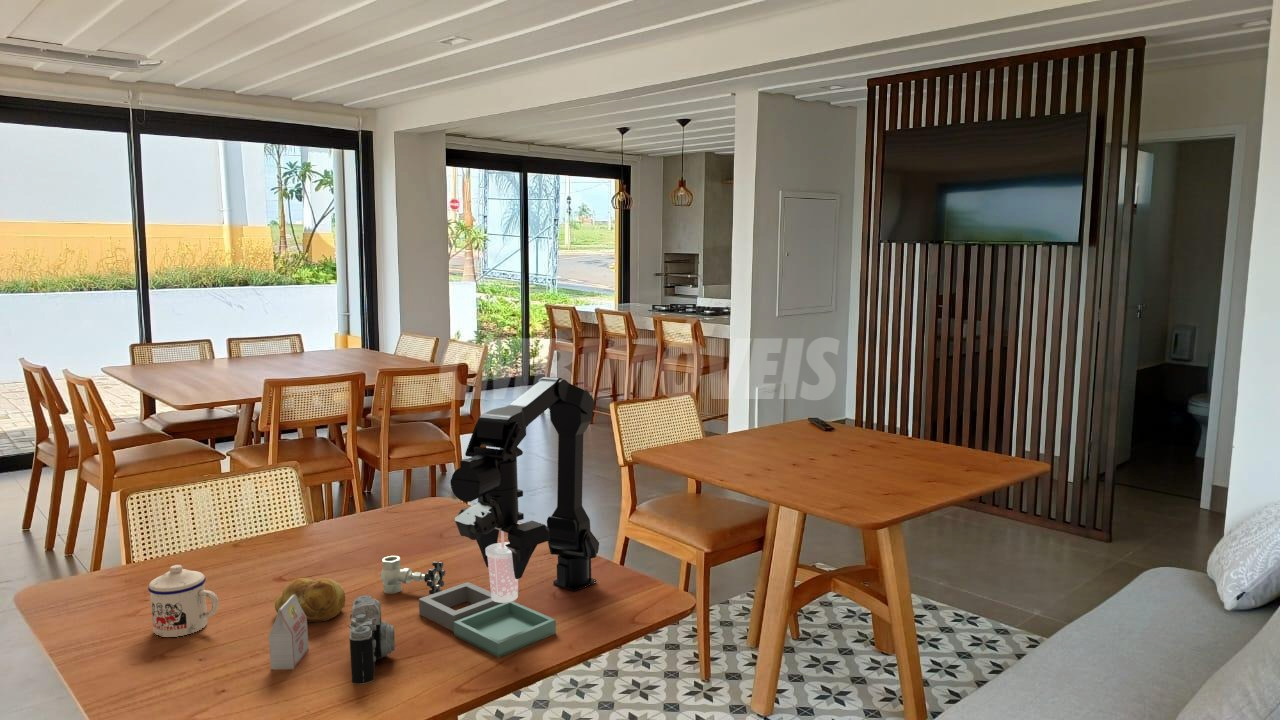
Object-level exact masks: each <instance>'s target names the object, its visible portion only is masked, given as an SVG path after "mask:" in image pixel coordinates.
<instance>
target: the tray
mask: <svg viewBox="0 0 1280 720" xmlns="http://www.w3.org/2000/svg"><path fill="white" fill-rule="evenodd" d="M556 624H557V622H556V618H553V617H550V616H548V615H546V614H543V613H541V612H539V611H537V610H534V609H532V608H530V607H527V606H525V605H522V604H520V603H518V602H516V601H511V602H506V603H502V604H499V605H497V606H494V607H492V608H489V609H486V610H484V611H481V612H478V613H476V614H473V615H470V616H468V617H465V618H462V619H460V620H457V621H455V622H454V631H453V635H454V636H455V637H456V638H458V639H460V640H463V641H464V642H467V643H468V644H470V645H472V646H474V647H477V648H479V649H480V650H482V651H484V652H486V653H487V654H490V655H492V656H493V657H497V658H498V659H499V658H502V657H505V656H506V655H510V654H511V653H513V652H516V651H519V650H521V649H523V648H524V647H527V646H530V645H533V644H534V643H537V642H540V641H542V640H544V639H545V638H548V637H550V636H553V635H555V634H557V625H556Z"/></svg>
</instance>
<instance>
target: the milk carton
mask: <svg viewBox="0 0 1280 720" xmlns="http://www.w3.org/2000/svg"><path fill="white" fill-rule="evenodd" d="M276 613H277V612H276ZM308 635H309V634H308V622H307V617H306V615H305V613H304V611H303V610H302V608H301V606H300V604H299V602H298V600H297V597H296V594H295V595H294V596H293V595H292V596H291V597H290V598H289V599H288V600H287V602H286V603H285V604H284V605H283V606H282V607H281V608H280V609H279V610H278V613H277V615H276V617H275V619H274V622H273V625H272V627H271V629H270V631H269V633H268V642H269V643H268V644H269V645H268V646H269V656H270V657H269V660H270V661H269V662H270V670H271V669H273V670H295V668H296V667H297V666H298V665H299V664H300V662H301V660H302V659H303V658H304V657H305V655H307V653H308V652H309V636H308ZM297 664H298V665H297Z"/></svg>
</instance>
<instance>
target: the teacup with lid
mask: <svg viewBox="0 0 1280 720" xmlns="http://www.w3.org/2000/svg"><path fill="white" fill-rule="evenodd" d="M205 582H206V577H205V574H204V573H202V572H200V571H198V570H197V571H196V570H189V569H185V568H183V565H182V564H174V565H171V566H170V568H169V571H167V572H165V573H164V574H162V575H159V576H157V577H156V578H154V579H152V580H151V581H150V582H149V585H148V591H149V595H150V606H151V617H152V620H151V621H152V630H153V634H154V633H155V634H157V635H160V636H165V637H168V636H169V637H176V636H182V635H187V634H191V633H193V634H195V633H194V632H196V633H198V632H199V630H200V631H201V630H203V629H204V628H205V627H206V626H207V624H208V618H210V617H212V616H213V615H215V613H216V612H217V611H218V608H219V598H218V595H217V594H216V593H215V592H213V590H209V589H208V590H207V589H205V588H206V587H205V586H206V585H205ZM206 597H208V598H209V599H210V600H211V609H210V611H208V612H207V610H208V609H207V601H206V599H207V598H206ZM202 628H203V629H202ZM197 631H198V632H197ZM155 634H154V635H155ZM191 635H192V634H191ZM187 636H188V635H187Z"/></svg>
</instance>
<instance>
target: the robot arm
mask: <svg viewBox="0 0 1280 720" xmlns="http://www.w3.org/2000/svg"><path fill="white" fill-rule="evenodd" d="M594 409H595V400H594V397H593V395H591V394H590V392H589V390H587V389H586V390H585V389H583V388H581V387H579V386H576V385H574V384H572V383H569V381H567V380H566V379H564V378H562V377H555V376H553V377H552V376H543V377H540V378H539V379H538V380H537V381H536V383H535V384H534V385H533V386H532V387H530V388H529V389H528V390H527V391H525V392H523V393H522V394H521V395H519V396H518V398H516V399H515V400H513V401H512V402H511V403H510V404H508V405H506V406H502V407H498V408H493V409H490V410H488V411H487V412H484V413H482V414H481V415H480V416H479V417H478V418H477V420H476V422H475V425H474V428H473V431H472V434H471V437H470V438H469V442H468V445H467V448H466V450H465V455H464V456H465V457H469V458H463V459H460V461H459V463H460V465H459V466H460V467H459V468H457V469H456V470H454V472H453V473H452V475H451V479H450V488H451V491H452V492H453V495H454V496H455V497H456V498H457V499H458V500H459V501H461V502H464V503H470V502H472V501H475V500H477V503H476V504H474V505H471V506H469V507H466V508H462V509H460V511H459V512H458V514H457V516H456V517H455V518H454V523H455V524H456V528H457V530H458V532H459V535H460V536H462V537H466V538H468V539H470V540H471V541H476V543H477V545H478V547H479V550H480V553H481V556H482V558H483V560H484V564H485V566H486V568H488V558H487V556H486V551H485V548H486V547H487V546H489V545H492V544H495V543H498V540H499V533H500V532H501V531H504V533H507V540H508V542H510V543H509V544H506V545H505V546H506V547H507V548H508V549H509V550H511V552H512V559H513V569H514V575H515V579H518V580H520V579H521V578H522V577H523V575H524V572H525V570H526V568H527V566H528V564H529V562H530V560H531V558H532V555H533V554H534V551H535V550H536V548H537V546H538V545H539V544H540V545H541V544H543V543H546V542H547V546H548V549H549V553H550V555H551V556H553V555H556V556H557V563H556V579H554V580H552V583H553V585H556V586H558V587H561V588H563V589H567V590H569V591H571V592H577V591H579V590H581V589H580V588H582V589H584V588H586V587H585V586H587V585H589V584H592V583H594V582H596V581H597V579H596V578H592V559H595V558H597V555H598V553H599V549H600V542H599V541H598V539H597V537H595V535H594V534H593V532H592V530H591V520H590V517H589V516H588V514H587V512H586V510H585V509H584V507H583V478H584V477H583V476H584V474H583V470H584V469H583V467H584V434H585V432H586V430H587V428H588V427H589V426H590V425H591V423H592V421H593V420H592V419H593V412H594ZM547 410H549V416H550V417H549V418H550V422H551V424H552V426H553V427H554V429H555V431H556V433H557V435H558V436H557V437H558V438H557V444H558V445H557V453H558V454H557V498H556V499H557V500H556V501H557V502H556V508H555V510H554V511H553V513H552V514H551V516H548V517H547V519H546V524H543V523H541V522H538V521H534V520H529V521H526V522H524V523H520V524H519V523H518V522H519V521H523V520H524V519H525V515H524V514H525V513H523V512H521V511H519V498H521V497H524V490H522V489H518V486H519V484H518V483H519V481H518V457H519V456H522V455H523V453H524V452H523V450H522V449H521V448H519V447H518V446H519V445H520V443H522V441H523V440H524V439H525V438H526V436H527V427H528V426H529V425H530V424H531V423H532V422H533V421H535V420H536V419H537V418H539V417H540V416H541V415H542V414H543V413H544V412H546V411H547ZM594 580H595V581H594ZM597 582H598V581H597ZM594 584H595V583H594ZM592 585H593V584H592ZM589 586H590V585H589ZM583 587H584V588H583ZM587 587H588V586H587Z"/></svg>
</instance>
